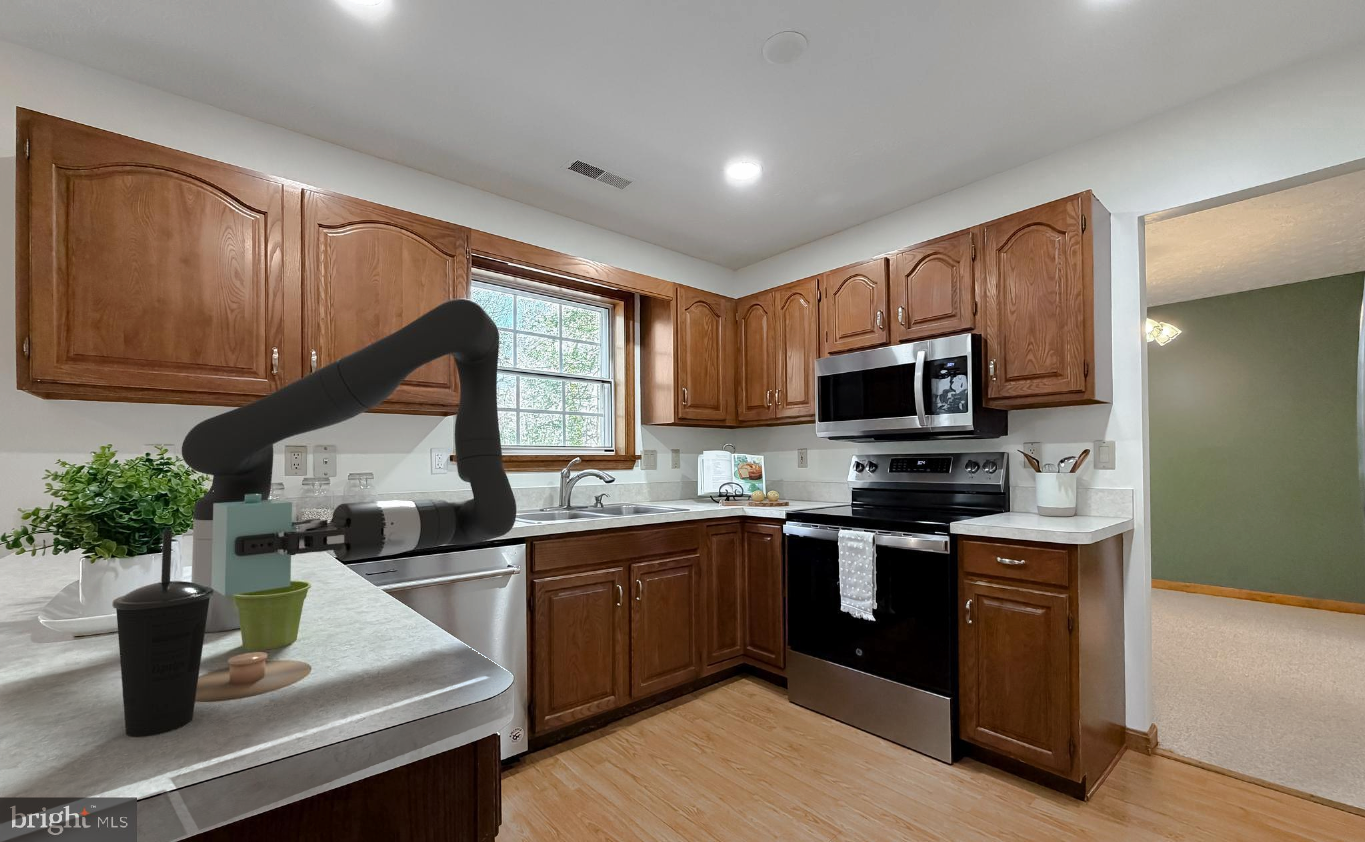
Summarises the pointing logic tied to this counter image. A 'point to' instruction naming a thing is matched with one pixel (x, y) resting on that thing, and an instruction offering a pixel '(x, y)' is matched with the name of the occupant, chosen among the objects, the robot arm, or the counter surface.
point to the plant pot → (271, 615)
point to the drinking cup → (161, 650)
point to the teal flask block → (254, 569)
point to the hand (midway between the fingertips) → (228, 543)
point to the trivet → (275, 678)
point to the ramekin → (247, 667)
